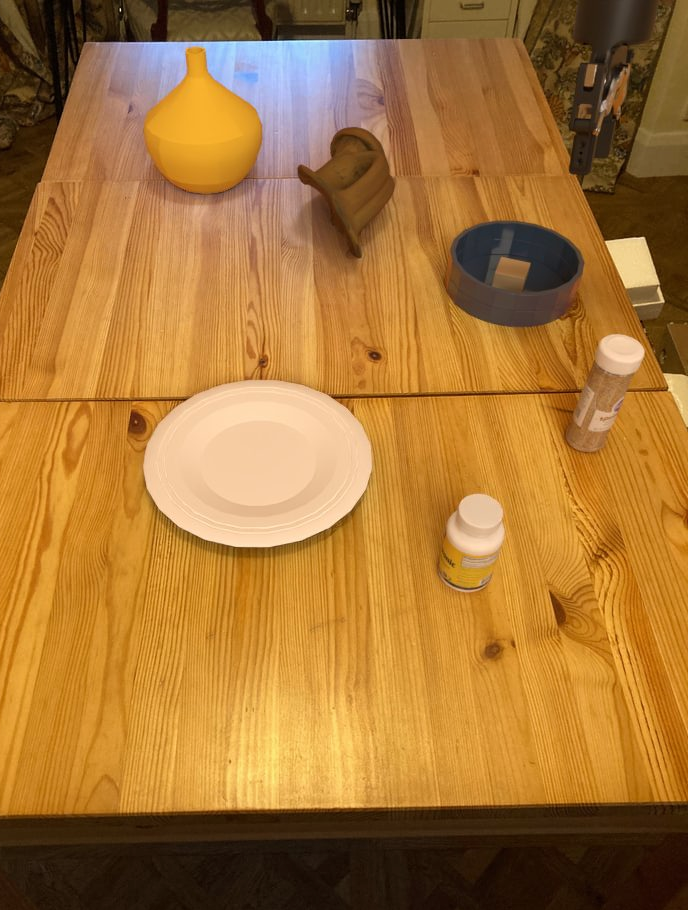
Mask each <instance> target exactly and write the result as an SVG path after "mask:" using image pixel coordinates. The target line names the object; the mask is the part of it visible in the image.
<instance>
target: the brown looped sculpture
mask: <svg viewBox="0 0 688 910" xmlns="http://www.w3.org/2000/svg"><path fill="white" fill-rule="evenodd" d="M382 145H383V144H381V142H380V140H379V139H378V138H377V137H376V136H375V134H373V133H372V132H370V131H369V130H367V129H365V128H362V127H357V126H348V127H343V128H341V129H340V130H337V132H336V133H335V134H334V135H333V136H332V140H331V142H330V146H329V149H330V157H331V158H330V159H328V161H327V162H326V163H324V164H323V165H322V166H320V167H319V168H318V169H317V170H315V171H314V170H312V169H311V168H309V167H307V166H306V165H305V164H298V166H297V169H296V170H297V177H298V179H299V182H300V183H302V184H303V185H305V186H309V187H311V188H313V189H315V190H316V191H317V192H319V193H320V194H321V195H322V196H323V197H324V199H325V200H326V202H327V203H328V204H329V206H330V208H331V210H332V212H331V216H330V218H329V219H330V221H329V222H330V224H331V225H332V226H333V225H334V226H333V227H335V229H336V230H337V231H338V232H340V233H342V234H343V235H344V237H345V240H346V242H347V246H348V248H349V251H350V252H351V254H352V255H353V256H354V257H355V258H356V259H361V258H362V257H363V251H362V246H360V240H359V236H360V234H361V232H362V231H363V230H364V229H365V228H366V227H367V226H368V225H369V224H371V222H372V221H373V220H374V219H375V218H376V216H377V215H378V214H379V213H380V212H381V211H382V210H383V209H384V207H386V205H387V204H388V203H389V201H390V200H391V198H392V197H393V195H394V193H395V187H396V183H395V180H394V177H393V176H392V175H391V174H390V170H391V169H390V168H391V167H390V164H389V161H388V159H387V157H386V151H385V150H384V147H383V146H382Z"/></svg>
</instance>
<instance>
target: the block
mask: <svg viewBox="0 0 688 910" xmlns="http://www.w3.org/2000/svg"><path fill="white" fill-rule="evenodd" d="M530 265H531V263H528V262H524V261H519V260H514V259H510V258H505V257H501V259H500V261H499V264H498V266H497V269H496V271H495V274H494V279H493V283H492V286H493V287H496V288H500V289H505V290H510V291H516V292H523V290H524V287H525V284H526V280H527V276H528V272H529V268H530Z"/></svg>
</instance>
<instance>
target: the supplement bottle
mask: <svg viewBox="0 0 688 910" xmlns="http://www.w3.org/2000/svg"><path fill="white" fill-rule="evenodd" d="M503 518H504V509H503V507H502V505H501V503H499V501H498V500H497V499H495V498H494V497H492V496H490V495H488V494H484V493H472V494H469V495H466V496H465V497H464V498H462V499H461V501H459V504H458V508H457V509H456V510H455V511H454V512H453V513H452V514H451V515H450V517H448V520H447V522H446V525H445V530H444V533H443V534H444V535H443V540H442V544H441V547H440V551H439V555H438V561H437V572H438V575H439V577H440V579H441V580H442V582H443V583H444V585H446V586H448V587H449V588H451V589H452V590H454V591H457V592H461V593H475V592H479V591H480V590H482V589H485V587H486V586H487V585H489V583H490V581H491V579H492V577H493V575H494V572H495V568H496V565H497V562H498V559H499V556H500V552H501V549H502V546H503V544H504V540H505V536H506V529H505V525H504V523H503Z"/></svg>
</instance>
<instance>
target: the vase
mask: <svg viewBox="0 0 688 910" xmlns="http://www.w3.org/2000/svg"><path fill="white" fill-rule="evenodd" d="M184 54H185V63H186V73H185V75H184V77H183V78H182V80H181V81H180V82H179V83H178V84H177V85H176V86H175V87H174V88H173V89H172V90H171V91H170V92H169V93H168V94H167V95H165V96H164V97H163V98H162V99H161V100H160V101H159V102H157V103H156V104H154V106H153V107H151V109H150V110H148V112H147V113H146V116H145V118H144V122H143V128H142V131H143V137H144V142H145V148H146V152H147V153H148V155H149V156H150V158H151V160H152V162H153V163H154V165H155V167H156V168H157V170H158V171H159V172H160V174H162V175H163V176H164V177H165V178H166V179H167V180H168V181H169V182H170V183H171V184H172V185H174V186H176V187H177V188H179V189H181V190H183V189H184V190H183V191H185V190H186V191H185V192H188V191H189V193H191V192H194V193H193V194H195V193H202V194H201V195H210V194H209V193H217V194H219V193H218V192H221V191H224V192H226V191H225V190H227V191H228V189H229V190H231V189H233V188H234V187H235V186H237V185H238V184H239V183H241V182H242V181H243V180H244V179H245V178H246V177H247V175H248V174H249V172H250V171H251V170H252V168H253V167H254V166H255V164H256V162H257V159H258V156H259V153H260V150H261V148H262V144H263V123H262V121H261V117H260V116H259V114H258V111H257V109H256V107H254V106H253V105H252V104H251V103H250V102H248V101H247V100H245V99H244V98H242V97H241V96H239V95H237V94H236V93H235V92H233V91H232V90H230V89H228V87H226V86H225V85H223V84H221V83H220V81H217V80H216V79H215V78H214V77H213V76H212V74H211V73H209V69H208V62H207V60H208V59H207V51H206V48H205V47H203V46H189V47H187V48H186V49H185V50H184ZM230 188H231V189H230ZM203 193H205V194H203ZM221 193H222V192H221Z"/></svg>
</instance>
